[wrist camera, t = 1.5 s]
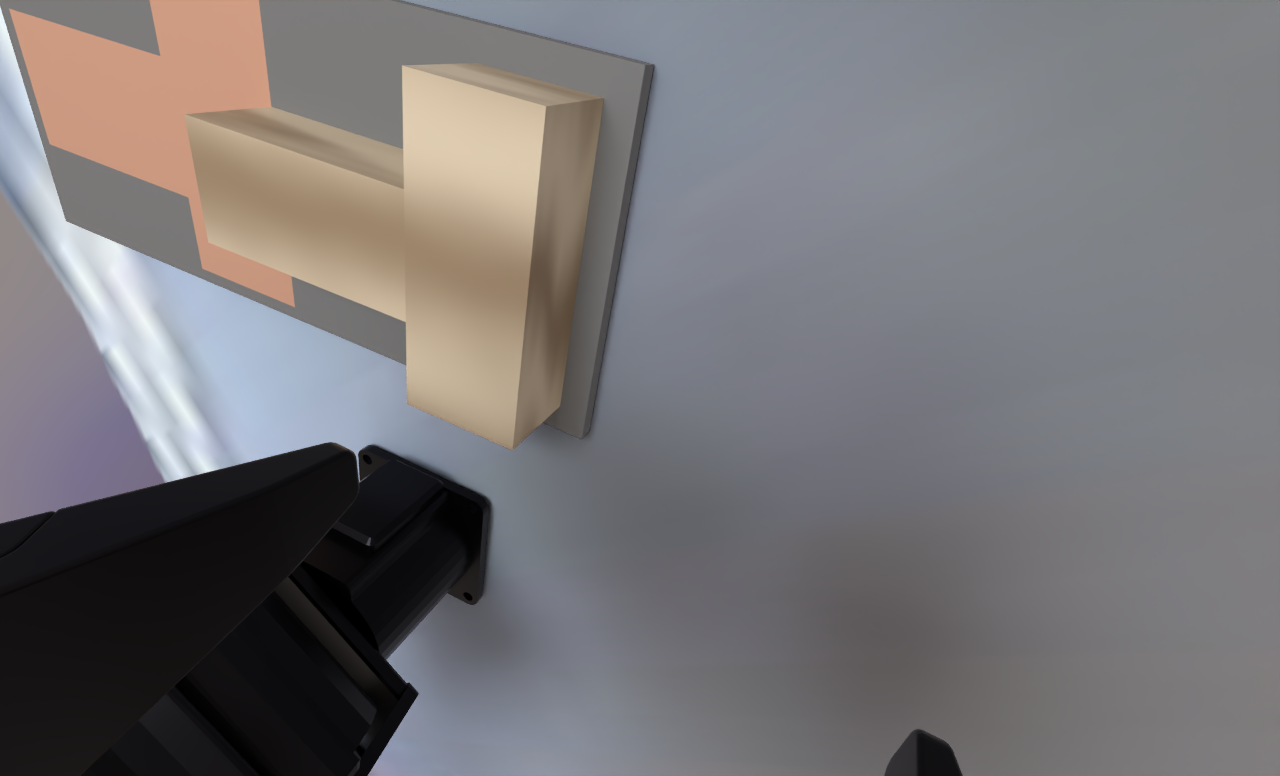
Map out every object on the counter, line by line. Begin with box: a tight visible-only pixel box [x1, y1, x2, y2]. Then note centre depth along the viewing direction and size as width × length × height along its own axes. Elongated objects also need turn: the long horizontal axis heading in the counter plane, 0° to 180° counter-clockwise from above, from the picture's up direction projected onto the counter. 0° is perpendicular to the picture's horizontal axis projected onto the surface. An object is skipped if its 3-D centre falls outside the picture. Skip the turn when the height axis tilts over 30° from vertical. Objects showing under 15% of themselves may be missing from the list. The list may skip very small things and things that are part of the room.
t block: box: [184, 63, 604, 450], centre depth 20 cm, size 10×12×3 cm
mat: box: [0, 0, 654, 439], centre depth 23 cm, size 12×26×1 cm, turn 79°
